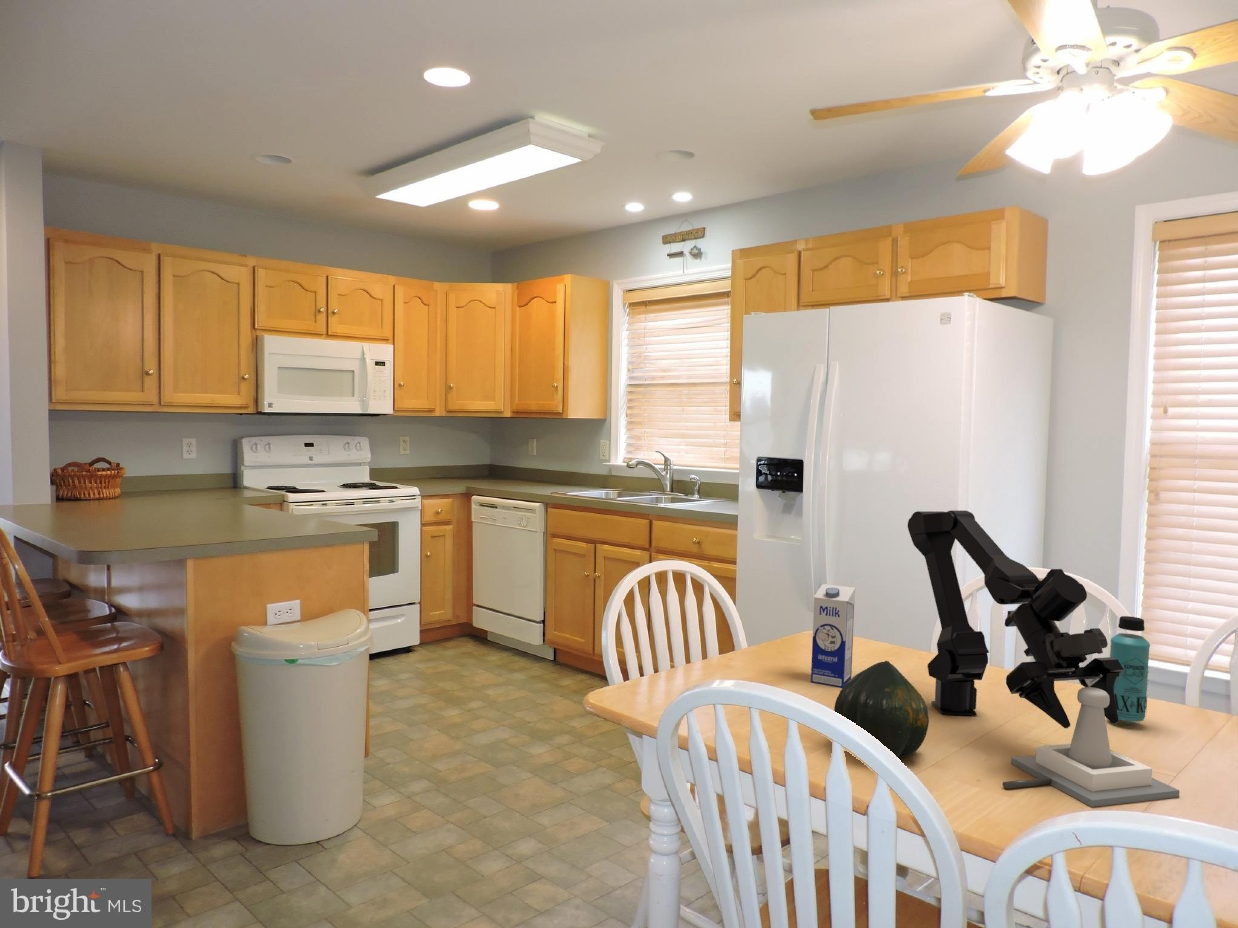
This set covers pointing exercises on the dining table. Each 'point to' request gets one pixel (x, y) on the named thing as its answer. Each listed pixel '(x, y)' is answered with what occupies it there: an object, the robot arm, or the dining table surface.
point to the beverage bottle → (1131, 670)
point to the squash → (885, 708)
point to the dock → (1091, 778)
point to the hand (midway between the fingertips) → (1092, 725)
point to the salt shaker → (1091, 730)
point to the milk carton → (832, 635)
